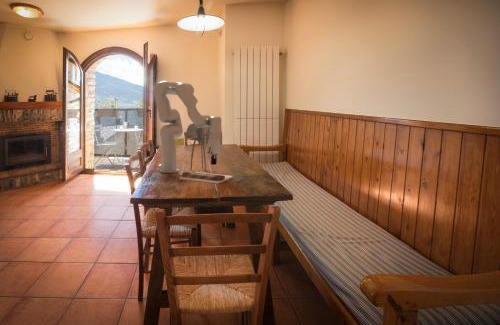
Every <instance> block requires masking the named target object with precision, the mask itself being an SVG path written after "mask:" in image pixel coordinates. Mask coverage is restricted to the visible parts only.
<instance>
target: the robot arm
mask: <svg viewBox="0 0 500 325" xmlns="http://www.w3.org/2000/svg"><path fill="white" fill-rule="evenodd" d="M194 93H195V88H194V86H193V85H192V84H190V83H186V82H185V83H183V82H179V81H169V80H162V81H159V82H158V83H156V85H155V86H154V88H153V96H154V98H155V99H154V100H155V103H156V108H157V113H158V119H159V121H160V122H161V123H163V124H164V123H165V125H163V126H161V128H160V130H159V137H160V140H161V141H160V142H161V164H158V166H157V168H159V172H160V173H163V174H172V173H173V174H174V173H178V172H179V171H180V169H179V168H177V166H178V165H177V144H176V140H175V139H178V138H180V137H182V135H183V132H184V131H183V130H184V129H183V125H182V124H183V123H182V119H181V115H180V113H179V111H178V110H177V109H176V108H172V107H171V103H170V100H169V98H168V96H167V95H173V96H175V95H176V96H177V97H178V98H179V99H180V101H181V102H182V103H183V106H185V108H186V112H187V115H188V118H189V120H190V121H191V122H192V123H193V124H194V125H195V127H196V128H197V127H200V128H201V127H202V128H207V127H208V140H207V147H206V149H207V150H206V154H208V157H210V165H213V166H215V165H217V162H218V161H217V160H218V155H220V153H221V147H222V146H221V143H222V142H221V137H222V118H221V117H220V116H217V115H216V116H215V115H214V116H213V115H208V114H201V113H200V112H199V110H198V109H197V104H198V102H199V101H198V99H197V97H196V96H195V95H194Z"/></svg>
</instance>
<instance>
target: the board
mask: <svg viewBox="0 0 500 325" xmlns="http://www.w3.org/2000/svg"><path fill="white" fill-rule="evenodd" d="M195 172H196V173H202V172H200V171H195ZM204 173H205V174H211V173H209V172H204ZM213 174H214V175H222V176H225V179H223V180H222V181H214V180H205V179H197V178H188V177H182V176H179V178H178V179H179V180H185V181H192V182H200V183H210V184H220V183H223V182H226V181H228V180H230V179H234V175H228V174H217V173H213Z"/></svg>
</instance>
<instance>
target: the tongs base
mask: <svg viewBox="0 0 500 325" xmlns="http://www.w3.org/2000/svg"><path fill="white" fill-rule="evenodd" d="M181 174H182V176H181V177H188V178H197V179H205V180H214V181H222V177H221V176H212V175H203V174H194V172H190V171H184V172H182V173H181Z"/></svg>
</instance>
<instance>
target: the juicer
mask: <svg viewBox="0 0 500 325" xmlns="http://www.w3.org/2000/svg"><path fill="white" fill-rule="evenodd" d="M195 136H196V137H194V140H193V144H192V149H191V156H190V157H191V158H190V171H192V169H193V159H194V152H195V151H194V150H195V145H196V142H197V143H198V146H200V153H201V154H200V156H201V169H203V168H204V171H205V172H206V171H207V162H206V159H207V158H206V152H205V151H206V150H205V145H204V144H205V143H204V129H203V127H201V128H200V127H197V126H196V129H195Z"/></svg>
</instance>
